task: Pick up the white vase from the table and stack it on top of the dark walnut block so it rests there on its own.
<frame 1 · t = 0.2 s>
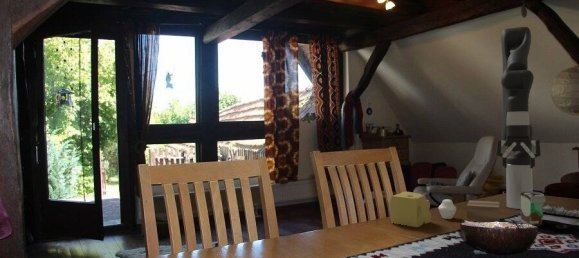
hand: (518, 168, 162), 17 cm above the table, tool pointing down, fingers open, 8 cm apart
white vase: (447, 218, 159), on the table
cheese: (410, 223, 153), on the table
walnut block: (483, 220, 154), on the table
food container: (535, 223, 150), on the table
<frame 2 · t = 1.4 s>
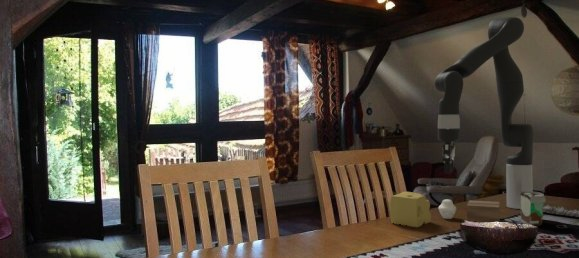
hand: (448, 172, 158), 17 cm above the table, tool pointing down, fingers open, 8 cm apart
nothing on the table moved.
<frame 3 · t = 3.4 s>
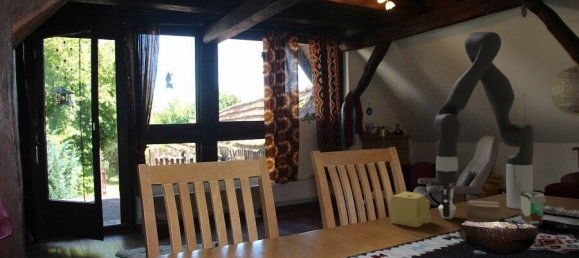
hand: (447, 214, 159), 1 cm above the table, tool pointing down, fingers closed on white vase, 6 cm apart
white vase: (447, 218, 159), on the table, touching gripper
everything else where it was.
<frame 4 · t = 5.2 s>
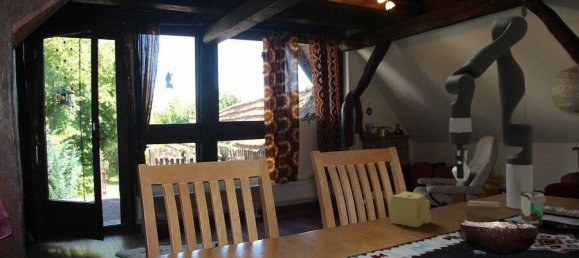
hand: (461, 177, 158), 15 cm above the table, tool pointing down, fingers closed on white vase, 6 cm apart
white vase: (461, 180, 158), point 14 cm above the table, touching gripper
everything else where it was.
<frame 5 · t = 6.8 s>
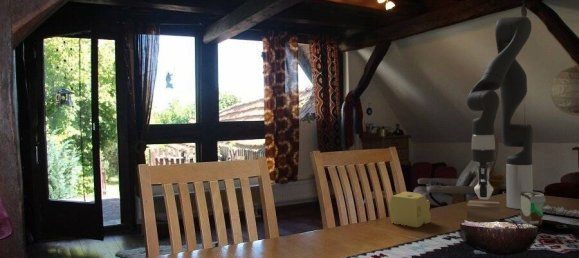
hand: (483, 195, 154), 9 cm above the table, tool pointing down, fingers closed on white vase, 6 cm apart
white vase: (483, 199, 154), point 8 cm above the table, touching gripper
everything else where it was.
when the fingers open (9 cm above the table, at t = 7.4 s): white vase drops 1 cm, resting on walnut block.
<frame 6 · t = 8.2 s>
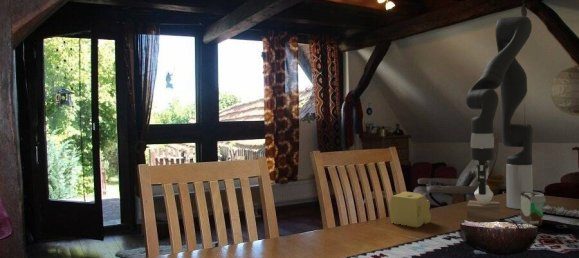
hand: (482, 192, 154), 10 cm above the table, tool pointing down, fingers open, 8 cm apart
white vase: (483, 204, 154), point 6 cm above the table, touching walnut block
everything else where it was.
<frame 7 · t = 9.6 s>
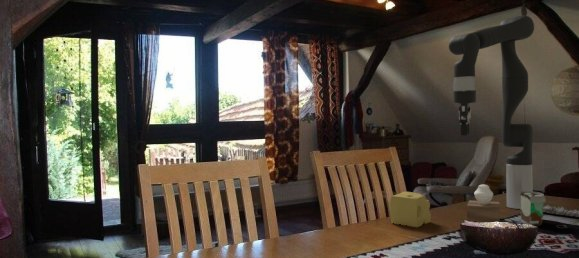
hand: (465, 134, 159), 30 cm above the table, tool pointing down, fingers open, 8 cm apart
nothing on the table moved.
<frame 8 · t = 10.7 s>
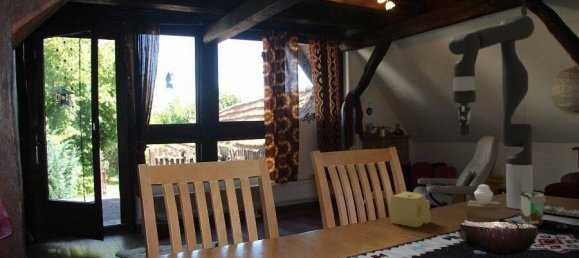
hand: (465, 134, 159), 30 cm above the table, tool pointing down, fingers open, 8 cm apart
nothing on the table moved.
at the end: white vase 0.2 cm from the walnut block (horizontally); white vase touching walnut block; white vase point 5.8 cm above the table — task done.
